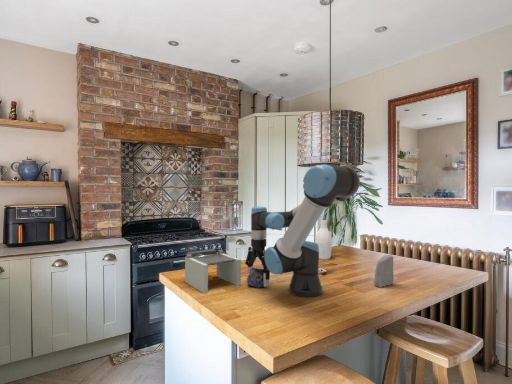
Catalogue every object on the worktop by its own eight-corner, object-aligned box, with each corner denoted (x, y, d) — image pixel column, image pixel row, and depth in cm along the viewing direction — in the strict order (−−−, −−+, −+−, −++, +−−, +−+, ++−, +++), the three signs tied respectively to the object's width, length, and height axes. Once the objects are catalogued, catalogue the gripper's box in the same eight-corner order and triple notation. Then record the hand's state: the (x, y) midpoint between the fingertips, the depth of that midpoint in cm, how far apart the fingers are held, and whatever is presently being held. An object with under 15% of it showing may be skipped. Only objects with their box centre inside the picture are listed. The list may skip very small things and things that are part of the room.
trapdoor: (234, 270, 152) (234, 256, 152) (206, 275, 143) (206, 260, 143) (213, 261, 169) (213, 249, 169) (186, 266, 160) (186, 252, 160)
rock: (268, 284, 145) (259, 263, 149) (248, 292, 148) (241, 272, 151) (274, 282, 155) (266, 263, 159) (256, 290, 158) (248, 271, 161)
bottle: (333, 257, 214) (334, 220, 214) (328, 260, 205) (328, 221, 204) (318, 255, 220) (318, 219, 220) (312, 258, 211) (312, 220, 210)
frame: (240, 284, 152) (240, 256, 152) (203, 293, 140) (204, 262, 140) (219, 275, 168) (219, 249, 168) (185, 282, 156) (185, 254, 156)
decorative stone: (381, 288, 148) (382, 257, 148) (371, 285, 153) (371, 255, 153) (395, 285, 154) (395, 254, 154) (384, 281, 159) (384, 252, 159)
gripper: (280, 241, 145) (280, 287, 145) (250, 234, 164) (250, 275, 164) (268, 242, 140) (267, 290, 141) (238, 235, 159) (238, 278, 160)
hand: (258, 282), depth 152 cm, fingers closed on rock, 12 cm apart
